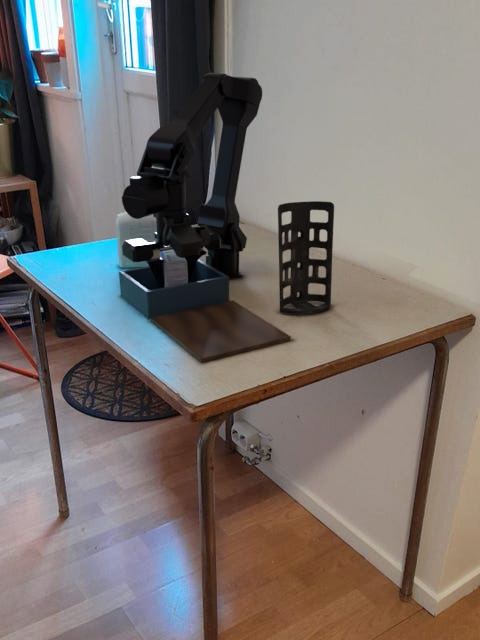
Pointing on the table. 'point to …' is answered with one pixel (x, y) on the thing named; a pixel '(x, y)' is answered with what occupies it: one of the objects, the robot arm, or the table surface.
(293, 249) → the holder
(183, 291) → the tote
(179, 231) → the robot arm
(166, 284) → the medicine box
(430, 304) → the table surface
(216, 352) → the board
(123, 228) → the grey rounded block
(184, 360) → the table surface
